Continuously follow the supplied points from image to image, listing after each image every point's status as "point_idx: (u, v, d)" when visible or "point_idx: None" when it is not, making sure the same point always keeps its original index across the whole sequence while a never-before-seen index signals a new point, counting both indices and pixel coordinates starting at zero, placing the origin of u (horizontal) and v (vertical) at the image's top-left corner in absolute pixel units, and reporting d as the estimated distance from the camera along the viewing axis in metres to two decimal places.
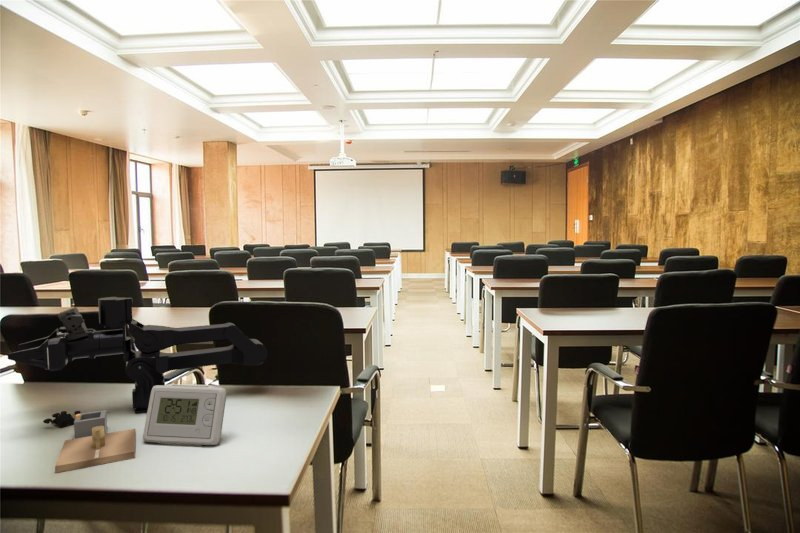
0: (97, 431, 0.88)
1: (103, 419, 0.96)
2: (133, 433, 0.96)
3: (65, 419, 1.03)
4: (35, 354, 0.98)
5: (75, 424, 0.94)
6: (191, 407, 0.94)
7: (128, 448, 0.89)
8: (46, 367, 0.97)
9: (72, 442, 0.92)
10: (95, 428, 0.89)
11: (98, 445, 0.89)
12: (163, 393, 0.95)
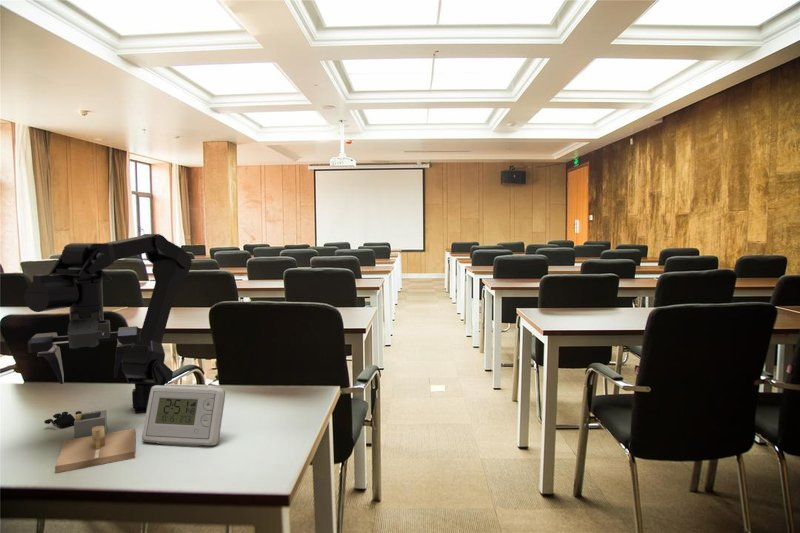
0: (97, 431, 0.88)
1: (103, 419, 0.96)
2: (133, 433, 0.96)
3: (66, 419, 1.02)
4: None
5: (75, 424, 0.94)
6: (190, 407, 0.94)
7: (128, 448, 0.89)
8: None
9: (72, 442, 0.92)
10: (95, 428, 0.89)
11: (98, 445, 0.89)
12: (162, 393, 0.95)
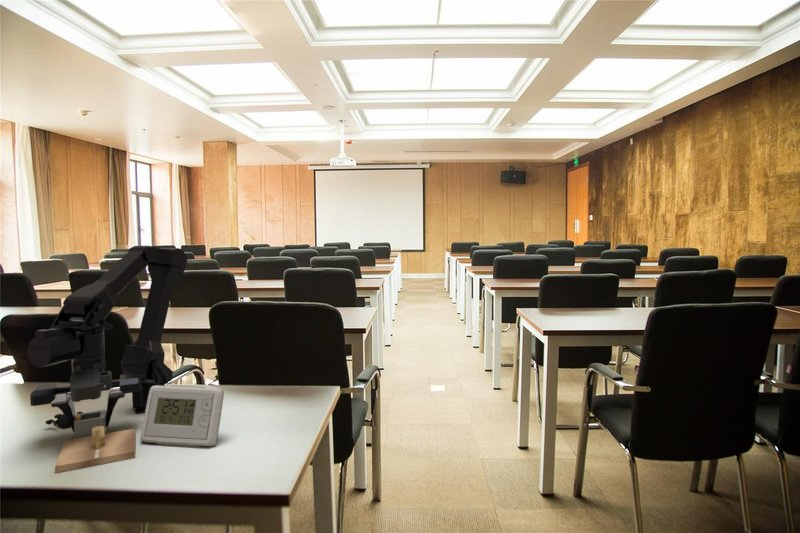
0: (97, 431, 0.88)
1: (103, 419, 0.96)
2: (133, 433, 0.96)
3: (67, 420, 1.02)
4: None
5: (75, 424, 0.94)
6: (188, 408, 0.94)
7: (128, 448, 0.89)
8: None
9: (72, 442, 0.92)
10: (95, 428, 0.89)
11: (98, 445, 0.89)
12: (160, 393, 0.95)
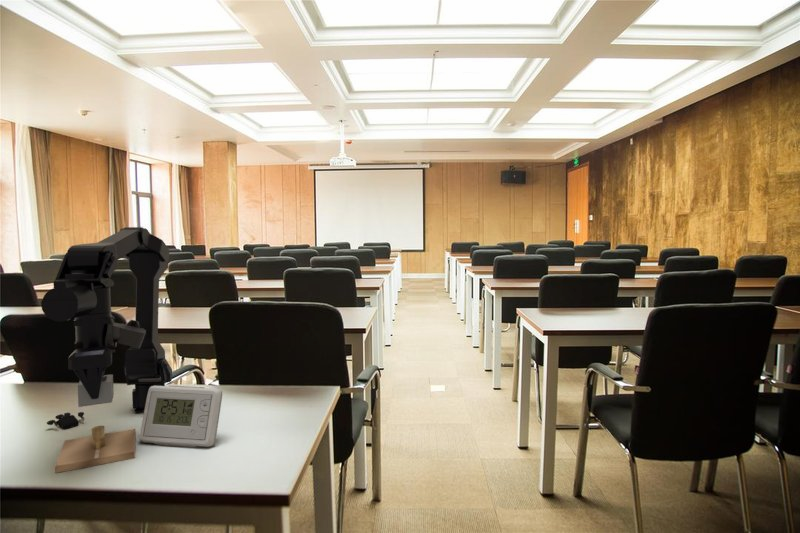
0: (97, 431, 0.88)
1: (112, 376, 0.93)
2: (133, 433, 0.96)
3: (69, 420, 1.02)
4: None
5: (111, 383, 0.88)
6: (187, 408, 0.94)
7: (128, 448, 0.89)
8: None
9: (72, 442, 0.92)
10: (95, 428, 0.89)
11: (98, 445, 0.89)
12: (159, 393, 0.95)
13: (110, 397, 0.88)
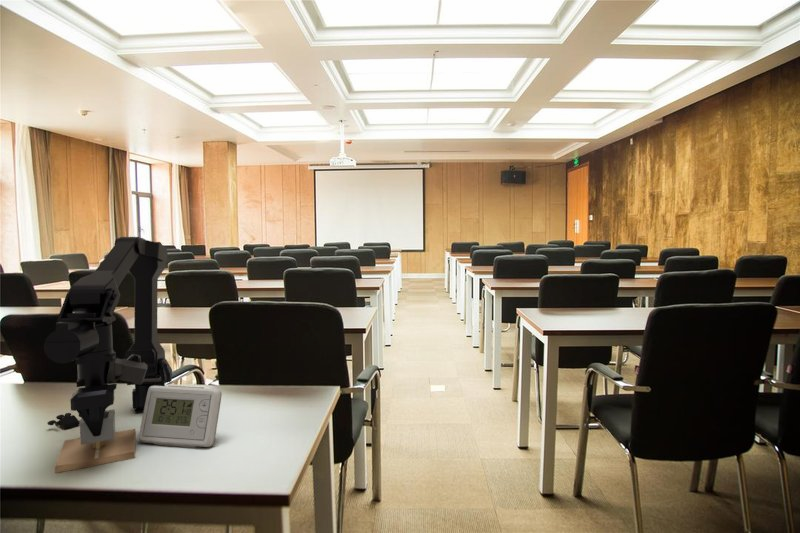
0: None
1: (114, 411, 0.93)
2: (133, 433, 0.96)
3: (69, 421, 1.02)
4: None
5: (113, 419, 0.89)
6: (186, 408, 0.94)
7: (128, 448, 0.89)
8: None
9: (72, 442, 0.92)
10: None
11: (98, 445, 0.89)
12: (158, 393, 0.95)
13: (112, 434, 0.89)
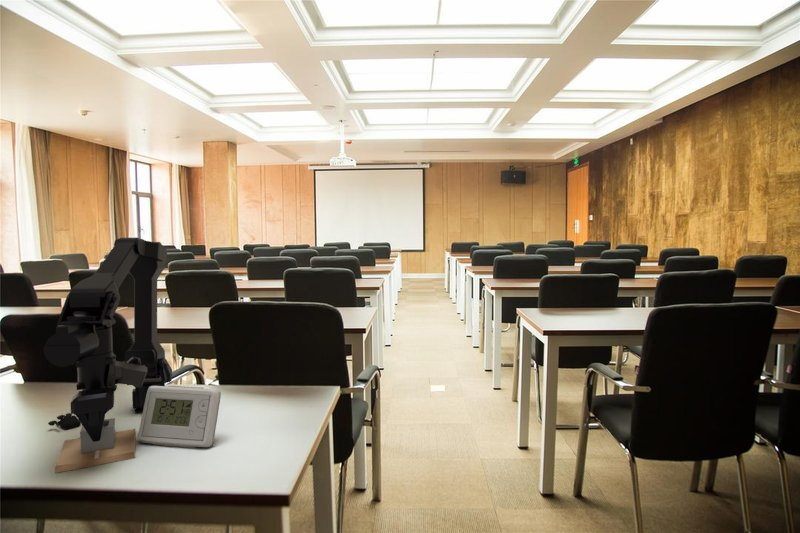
0: None
1: (114, 419, 0.93)
2: (133, 433, 0.96)
3: (70, 421, 1.01)
4: None
5: (113, 428, 0.89)
6: (185, 408, 0.93)
7: (128, 448, 0.89)
8: None
9: (72, 442, 0.92)
10: None
11: None
12: (158, 393, 0.95)
13: (112, 442, 0.89)
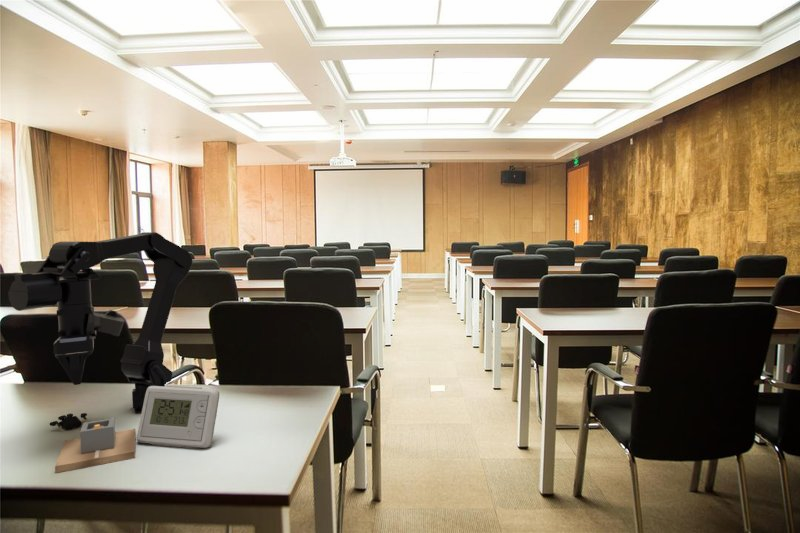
0: None
1: (114, 419, 0.93)
2: (133, 433, 0.96)
3: (71, 422, 1.01)
4: None
5: (113, 428, 0.89)
6: (184, 409, 0.93)
7: (128, 448, 0.89)
8: None
9: (72, 442, 0.92)
10: None
11: None
12: (157, 393, 0.95)
13: (112, 442, 0.89)
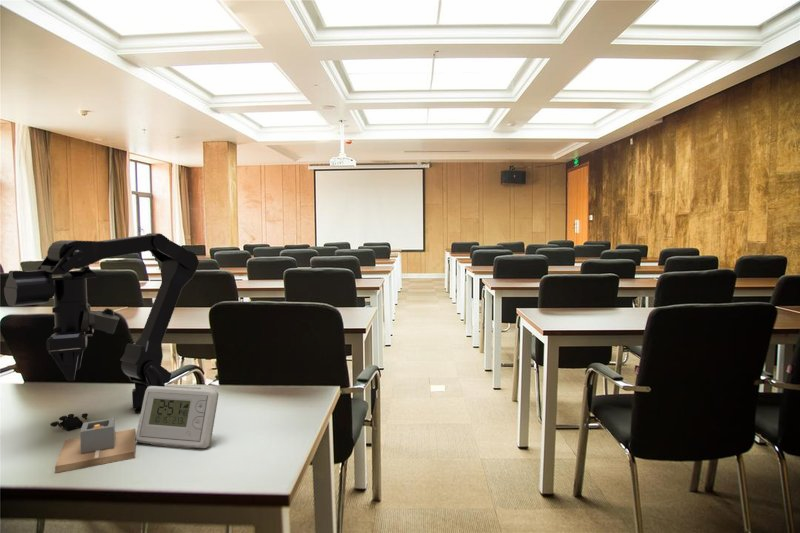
0: None
1: (114, 419, 0.93)
2: (133, 433, 0.96)
3: (73, 422, 1.01)
4: None
5: (113, 428, 0.89)
6: (183, 409, 0.93)
7: (128, 448, 0.89)
8: None
9: (72, 442, 0.92)
10: None
11: None
12: (156, 394, 0.95)
13: (112, 442, 0.89)
